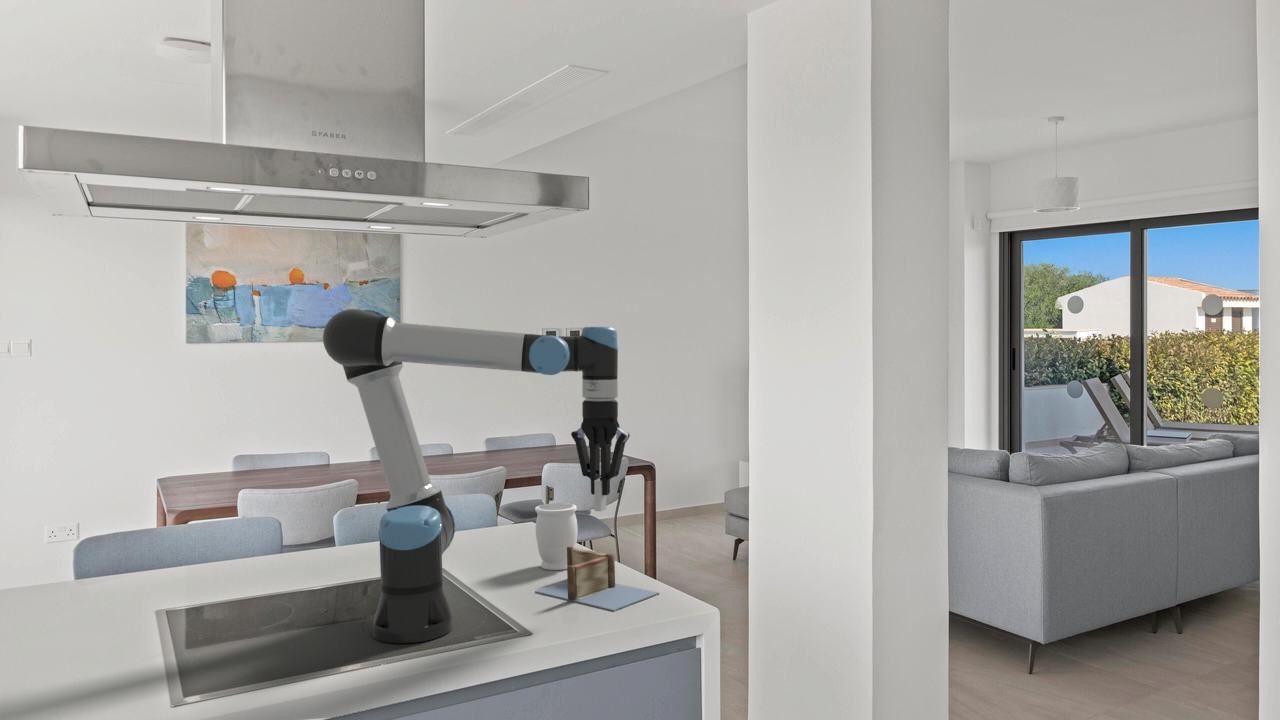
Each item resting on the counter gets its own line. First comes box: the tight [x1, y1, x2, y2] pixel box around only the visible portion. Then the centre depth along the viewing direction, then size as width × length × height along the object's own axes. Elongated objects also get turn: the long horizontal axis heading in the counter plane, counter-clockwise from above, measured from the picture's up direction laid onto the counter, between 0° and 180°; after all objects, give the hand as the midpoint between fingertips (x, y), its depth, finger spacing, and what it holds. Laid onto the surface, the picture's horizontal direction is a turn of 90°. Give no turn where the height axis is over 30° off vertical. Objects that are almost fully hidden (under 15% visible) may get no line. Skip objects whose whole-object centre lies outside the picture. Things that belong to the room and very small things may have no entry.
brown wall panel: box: [567, 547, 616, 588], centre depth 201 cm, size 14×2×8 cm, turn 50°
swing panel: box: [566, 557, 608, 600], centre depth 191 cm, size 12×2×7 cm, turn 140°
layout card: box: [535, 580, 660, 612], centre depth 193 cm, size 24×15×1 cm, turn 50°
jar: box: [534, 502, 579, 571], centre depth 217 cm, size 11×10×15 cm
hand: (600, 510), depth 186 cm, fingers closed
